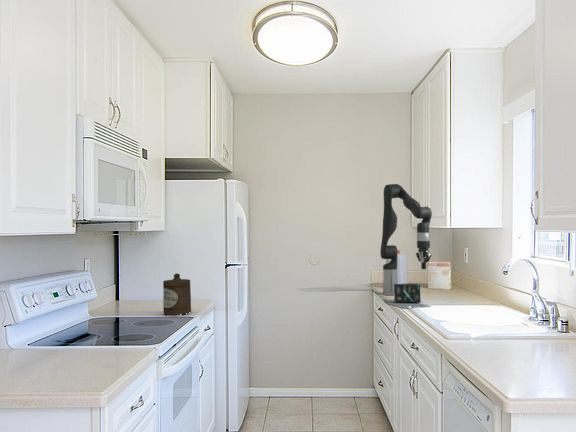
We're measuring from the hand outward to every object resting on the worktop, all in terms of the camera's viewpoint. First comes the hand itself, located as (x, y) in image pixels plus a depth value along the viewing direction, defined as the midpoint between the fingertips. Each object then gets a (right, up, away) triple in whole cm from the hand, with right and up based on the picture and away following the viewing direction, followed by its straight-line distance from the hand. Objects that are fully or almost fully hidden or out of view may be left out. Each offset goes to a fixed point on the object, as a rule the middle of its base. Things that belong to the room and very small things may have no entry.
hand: (423, 269), depth 277 cm
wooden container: (-142, -22, -22) cm, 146 cm away
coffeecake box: (+30, -22, +61) cm, 72 cm away
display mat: (-11, -21, -4) cm, 24 cm away
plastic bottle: (0, -22, +69) cm, 73 cm away
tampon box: (-2, -15, +1) cm, 15 cm away
